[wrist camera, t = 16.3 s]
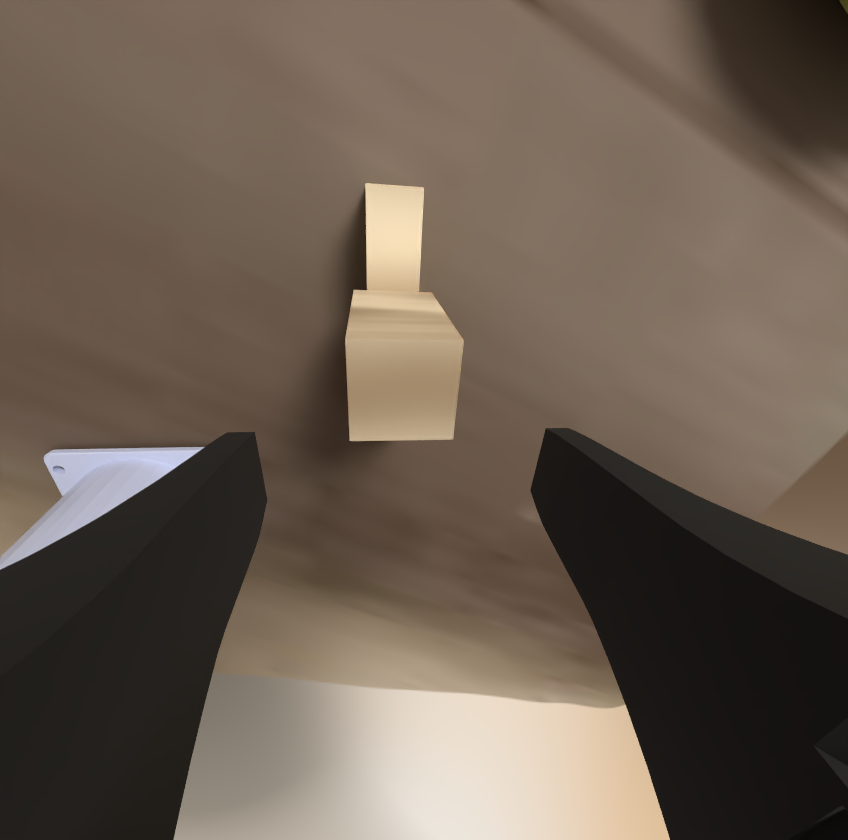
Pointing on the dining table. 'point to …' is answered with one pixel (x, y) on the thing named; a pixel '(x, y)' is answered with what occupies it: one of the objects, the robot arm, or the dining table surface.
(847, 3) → the saucer
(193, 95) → the dining table surface
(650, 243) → the dining table surface
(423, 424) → the beige stepped block
